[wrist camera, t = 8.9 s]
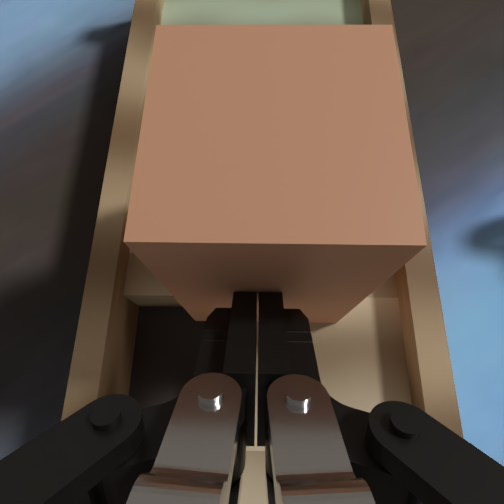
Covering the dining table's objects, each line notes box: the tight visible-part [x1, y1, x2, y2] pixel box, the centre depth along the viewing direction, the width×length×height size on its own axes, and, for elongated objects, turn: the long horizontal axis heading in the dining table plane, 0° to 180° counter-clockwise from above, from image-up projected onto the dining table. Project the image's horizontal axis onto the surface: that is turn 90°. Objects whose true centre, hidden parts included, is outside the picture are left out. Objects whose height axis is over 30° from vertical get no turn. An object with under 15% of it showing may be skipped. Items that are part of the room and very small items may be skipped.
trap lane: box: [61, 0, 463, 504], centre depth 17 cm, size 38×14×5 cm, turn 179°
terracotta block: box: [123, 25, 427, 323], centre depth 13 cm, size 6×6×9 cm
